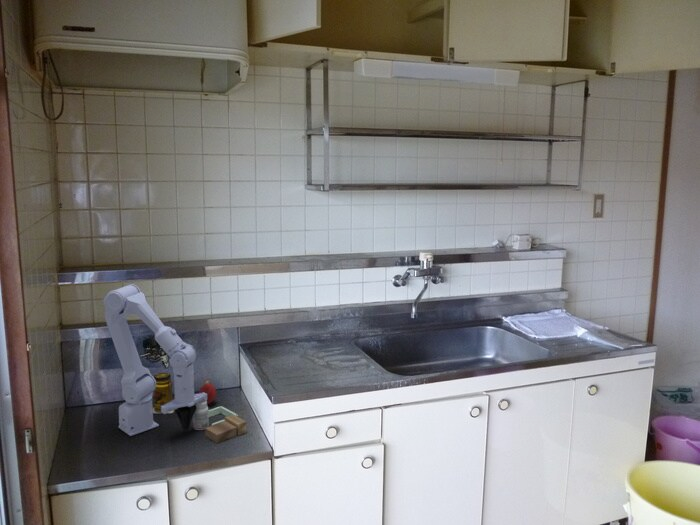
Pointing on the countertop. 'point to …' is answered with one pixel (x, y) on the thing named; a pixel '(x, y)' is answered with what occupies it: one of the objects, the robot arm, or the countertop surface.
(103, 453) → the countertop surface
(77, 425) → the countertop surface
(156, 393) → the condiment
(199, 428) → the pill bottle
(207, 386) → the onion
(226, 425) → the tan cardboard block
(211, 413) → the corral
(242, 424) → the block
